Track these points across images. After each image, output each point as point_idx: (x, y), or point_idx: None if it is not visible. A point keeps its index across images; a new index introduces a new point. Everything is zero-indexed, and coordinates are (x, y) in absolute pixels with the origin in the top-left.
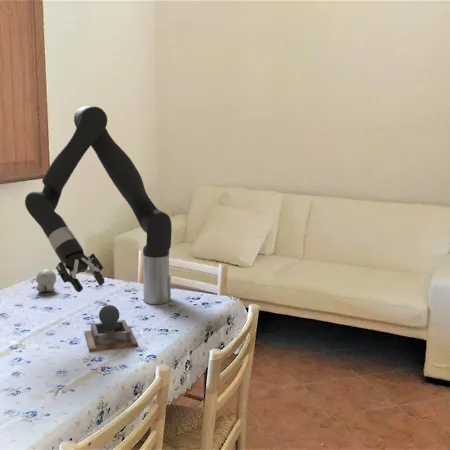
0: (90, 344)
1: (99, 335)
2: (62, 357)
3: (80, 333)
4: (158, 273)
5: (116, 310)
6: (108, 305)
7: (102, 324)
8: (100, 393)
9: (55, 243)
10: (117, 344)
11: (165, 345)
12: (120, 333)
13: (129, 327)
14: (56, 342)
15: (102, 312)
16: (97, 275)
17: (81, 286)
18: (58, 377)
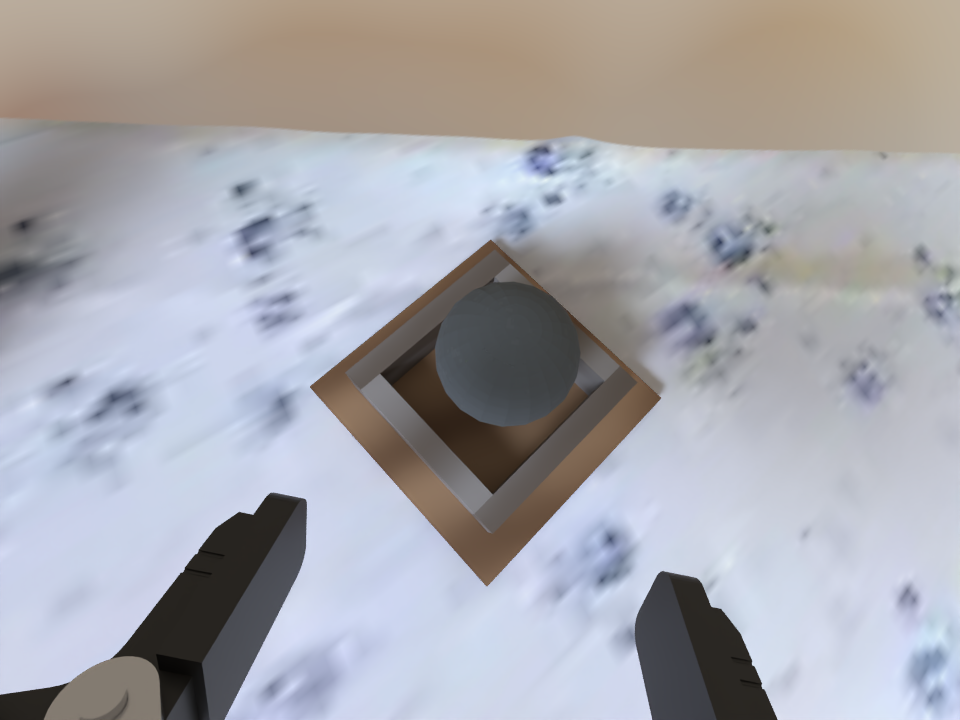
0: (619, 425)
1: (616, 364)
2: (771, 478)
3: (487, 616)
4: None
5: (500, 283)
6: (518, 330)
7: (460, 460)
8: (870, 169)
9: None
10: None
11: (424, 160)
12: (533, 285)
13: (327, 377)
14: None
15: (575, 355)
16: (231, 639)
17: (687, 594)
18: (901, 361)
